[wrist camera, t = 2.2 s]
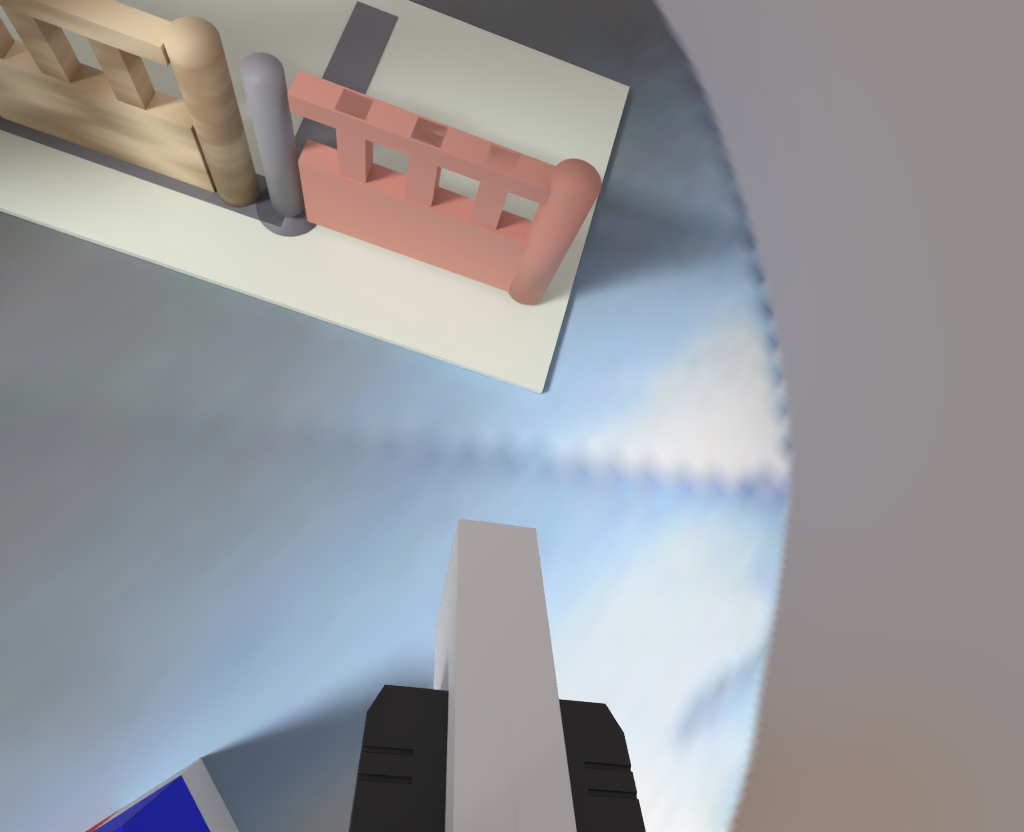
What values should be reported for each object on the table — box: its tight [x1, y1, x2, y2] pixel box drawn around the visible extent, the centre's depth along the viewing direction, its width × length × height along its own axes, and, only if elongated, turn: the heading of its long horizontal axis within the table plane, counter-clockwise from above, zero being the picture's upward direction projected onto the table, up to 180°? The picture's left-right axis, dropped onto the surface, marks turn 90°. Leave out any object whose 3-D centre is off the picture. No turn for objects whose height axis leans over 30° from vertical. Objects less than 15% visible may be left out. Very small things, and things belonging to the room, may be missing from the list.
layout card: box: [0, 0, 629, 394], centre depth 38 cm, size 32×20×1 cm, turn 74°
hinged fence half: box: [240, 53, 602, 305], centre depth 32 cm, size 14×2×10 cm, turn 74°
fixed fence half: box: [0, 0, 260, 208], centre depth 30 cm, size 14×2×10 cm, turn 74°
